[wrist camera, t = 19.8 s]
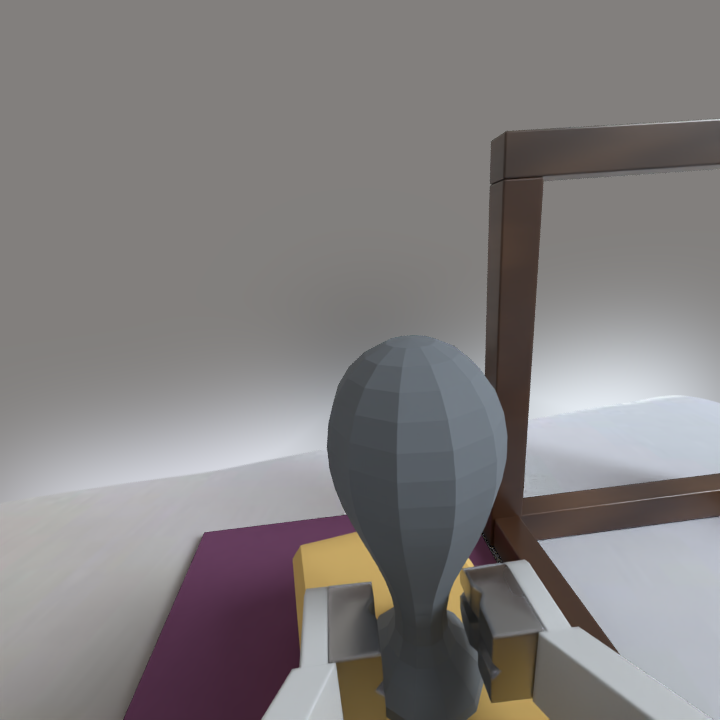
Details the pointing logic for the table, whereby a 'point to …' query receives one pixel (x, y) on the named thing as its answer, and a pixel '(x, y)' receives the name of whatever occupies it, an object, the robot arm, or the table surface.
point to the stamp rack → (516, 330)
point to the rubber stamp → (415, 518)
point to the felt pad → (235, 624)
